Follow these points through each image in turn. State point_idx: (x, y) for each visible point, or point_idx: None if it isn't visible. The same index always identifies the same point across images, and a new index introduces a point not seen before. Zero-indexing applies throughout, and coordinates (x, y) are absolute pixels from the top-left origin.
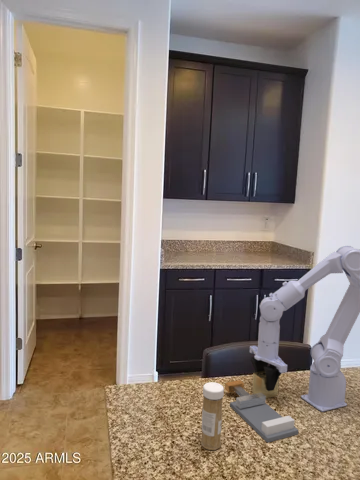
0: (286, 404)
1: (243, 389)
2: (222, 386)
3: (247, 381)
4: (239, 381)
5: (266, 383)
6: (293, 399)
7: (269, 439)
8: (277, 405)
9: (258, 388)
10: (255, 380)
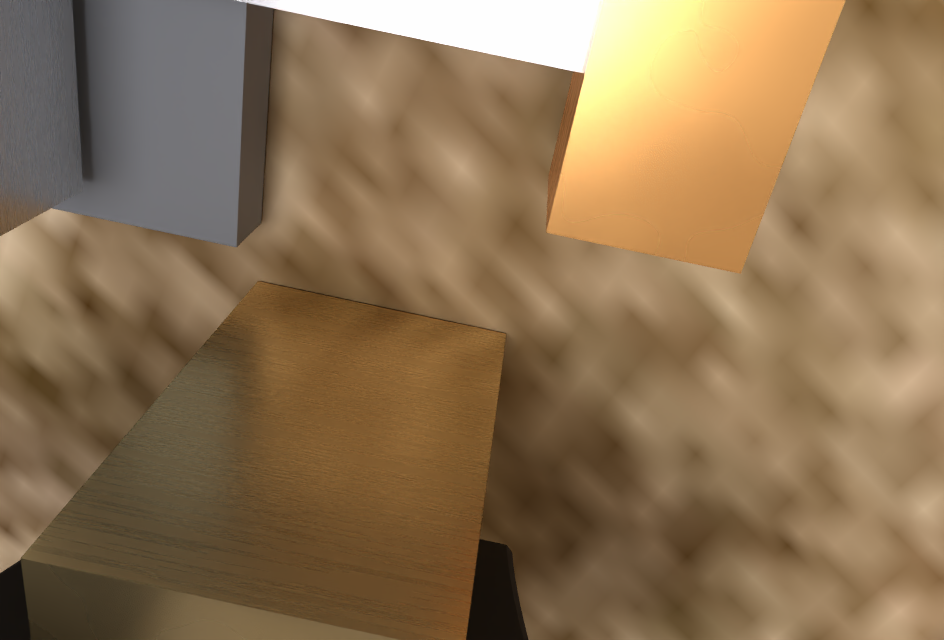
0: (14, 480)
1: (362, 11)
2: None
3: (825, 540)
4: (692, 193)
5: None
6: None
7: None
8: (23, 365)
9: (281, 385)
10: (375, 492)
